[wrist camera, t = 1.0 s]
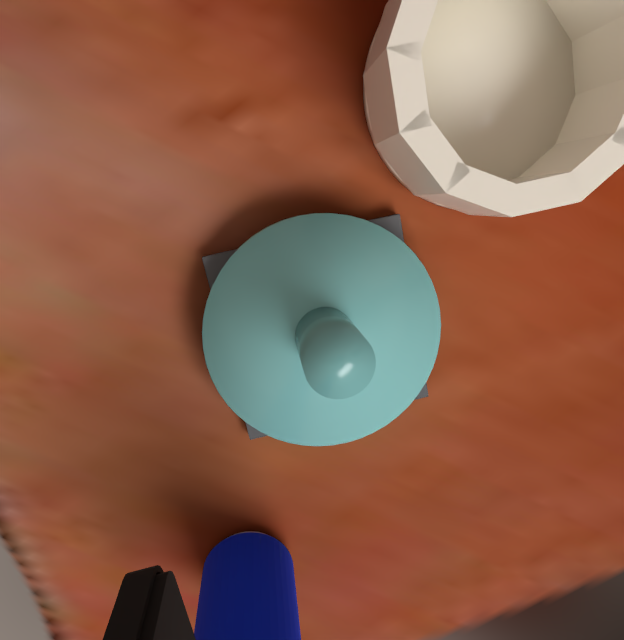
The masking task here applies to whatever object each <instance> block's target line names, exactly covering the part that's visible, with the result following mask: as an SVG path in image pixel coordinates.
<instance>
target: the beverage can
mask: <svg viewBox="0 0 624 640" xmlns="http://www.w3.org/2000/svg"><path fill="white" fill-rule="evenodd" d="M194 636H195V639H196V640H301V635H300V625H299V616H298V606H297V597H296V588H295V578H294V569H293V561H292V558H291V555H290V553H289V551H288V550H287V548H286V547H285V546H284V545H283V544H282V543H281V542H280V541H279V540H277V539H275V538H274V537H272V536H269V535H267V534H265V533H261V532H255V531H246V532H240V533H237V534H234V535H232V536H230V537H228V538H226V539H224V540H223V541H221V542H219V543H218V544H217V545H216V546H215V547H214V548H213V549H212V550H211V552H210V553H209V555H208V556H207V558H206V561H205V563H204V568H203V574H202V581H201V588H200V595H199V602H198V609H197V617H196V624H195V631H194Z"/></svg>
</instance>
